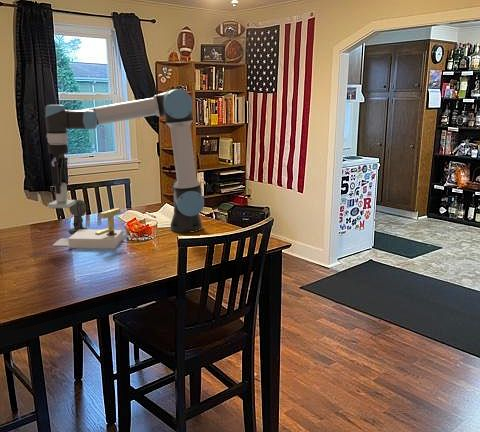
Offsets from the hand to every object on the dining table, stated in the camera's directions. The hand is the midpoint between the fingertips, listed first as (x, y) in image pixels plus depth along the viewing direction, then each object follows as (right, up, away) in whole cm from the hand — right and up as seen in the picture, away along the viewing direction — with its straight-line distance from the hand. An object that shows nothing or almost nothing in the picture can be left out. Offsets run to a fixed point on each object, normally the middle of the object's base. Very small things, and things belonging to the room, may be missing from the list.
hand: (61, 199), depth 197 cm
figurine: (0, -14, +21) cm, 25 cm away
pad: (0, -18, +5) cm, 19 cm away
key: (+19, -15, +2) cm, 24 cm away
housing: (+13, -18, +5) cm, 23 cm away
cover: (0, -2, +1) cm, 2 cm away
